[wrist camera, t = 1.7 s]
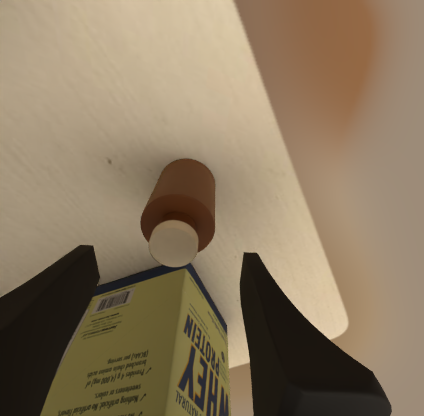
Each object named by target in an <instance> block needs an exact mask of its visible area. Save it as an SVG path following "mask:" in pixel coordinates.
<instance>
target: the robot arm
mask: <svg viewBox="0 0 424 416" xmlns="http://www.w3.org/2000/svg"><path fill="white" fill-rule="evenodd" d="M99 279H100V276H99V271H98V266H97V261H96V257H95V252H94V247H93V246H91V245H80V246H78V247H76V248H75V249H74V250H72V251H71V252H69V253H68V254H66V255H65V256H64V257H62V258H61V259H59V260H58V261H57V262H55V263H54V264H52V265H51V266H50V267H48V268H47V269H45V270H44V271H42V272H41V273H39V274H38V275H36V276H35V277H33V278H32V279H30V280H29V281H27V282H26V283H24V284H22V285H21V286H19V287H18V288H16V289H14V290H13V291H11V292H9V293H8V294H6V295H4V296H2V297H0V416H40V415H41V412H42V409H43V406H44V404H45V401H46V398H47V395H48V393H49V390H50V387H51V385H52V382H53V380H54V377H55V374H56V372H57V369H58V367H59V364H60V362H61V360H62V357H63V355H64V352H65V350H66V348H67V346H68V344H69V342H70V340H71V338H72V336H73V334H74V332H75V330H76V328H77V327H78V325H79V323H80V321H81V319H82V317H83V315H84V313H85V311H86V310H87V308H88V306H89V304H90V302H91V300H92V298H93V295H94V293H95V290H96V288H97V285H98V282H99ZM240 298H241V308H242V314H243V320H244V326H245V331H246V337H247V343H248V349H249V357H250V369H251V381H252V396H253V411H254V416H390V414H391V412H392V410H391V405H390V402H389V400H388V398H387V397H386V394H385V392H384V391H383V389H382V387H381V385H380V383H379V382H378V380H377V379H376V377H375V375H374V374H373V372H372V371H370V370H369V369H368V368H366V367H365V366H363V365H362V364H361V363H359V362H358V361H356V360H355V359H353V358H352V357H351V356H349V355H348V354H347V353H345V352H344V351H342V350H341V349H340V348H339V347H338V346H336V345H335V344H334V343H333V342H331V341H330V340H329V339H328V338H327V337H326V336H324V335H323V334H322V333H321V332H320V331H319V330H318V329H317V328H316V327H314V326H313V325H312V324H311V323H310V322H309V321H308V320H307V319H306V318H305V317H304V316H303V315H302V314H301V313H300V311H299V310H298V309H297V308H296V307H295V306H294V305H293V304H292V302H291V301H290V300H289V299H288V298H287V296H286V295H285V294H284V293H283V291H282V290H281V289H280V287H279V286H278V285H277V283H276V282H275V280H274V279H273V278H272V276H271V275H270V273H269V272H268V270H267V268H266V267H265V265H264V264H263V262H262V260H261V259H260V257H259V255H258V254H257V253H246V252H244V255H243V263H242V271H241V278H240Z"/></svg>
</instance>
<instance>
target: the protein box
mask: <svg viewBox="0 0 424 416" xmlns="http://www.w3.org/2000/svg"><path fill="white" fill-rule="evenodd" d="M40 416H231V409H230V389H229V366H228V340H227V325H226V323H225V322H224V320H223V318H222V317H221V315H220V313H219V311H218V310H217V308H216V306H215V304H214V302H213V301H212V299H211V297H210V296H209V294H208V292H207V290H206V289H205V287H204V285H203V284H202V282H201V280H200V279H199V277H198V275H197V273H196V272H195V270H194V268H193V267H192V265H191V263H189V264H187V265H184V266H181V267H169V266H165V265H163V266H160V267H157V268H154V269H151V270H148V271H144V272H141V273H138V274H135V275H132V276H129V277H126V278H123V279H119V280H116V281H113V282H110V283H107V284H104V285H101V286H98V287H97V288H96V290H95V293H94V295H93V298H92V300H91V302H90V304H89V306H88V308H87V310H86V311H85V313H84V315H83V317H82V319H81V321H80V323H79V325H78V327H77V328H76V330H75V332H74V334H73V336H72V338H71V340H70V342H69V344H68V346H67V348H66V350H65V352H64V355H63V357H62V360H61V362H60V364H59V367H58V369H57V372H56V374H55V377H54V380H53V382H52V385H51V387H50V390H49V393H48V395H47V398H46V401H45V404H44V406H43V409H42V412H41V415H40Z"/></svg>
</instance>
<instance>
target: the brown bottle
mask: <svg viewBox="0 0 424 416" xmlns="http://www.w3.org/2000/svg"><path fill="white" fill-rule="evenodd" d="M141 230H142V233H143V235H144V237H145V239H146V240H147V242H148V243H149V251H150V254H151V255H152V257H153V258H154V259H155V260H156V261H157V262H159V263H161V264H163V265H165V266H169V267H181V266H184V265H187V264H189V263H190V262H191V261H193V259H194V258H195V257H196V255H197V253H198V252H200V251H202V250H203V249H204V248H205V247H207V246H208V244H209V243H210V242H211V240H212V238H213V236H214V232H215V180H214V177H213V175H212V173H211V171H210V170H209V169H208V168H207V167H206V166H205V165H204V164H202V163H200V162H198V161H196V160H192V159H179V160H176V161H173V162H171V163H170V164H168V165H167V166H166V167H165V168H164V170H163V171H162V173H161V175H160V177H159V179H158V181H157V183H156V186H155V188H154V190H153V192H152V194H151V196H150V198H149V200H148V202H147V205H146V207H145V209H144V211H143V213H142V216H141Z"/></svg>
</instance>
